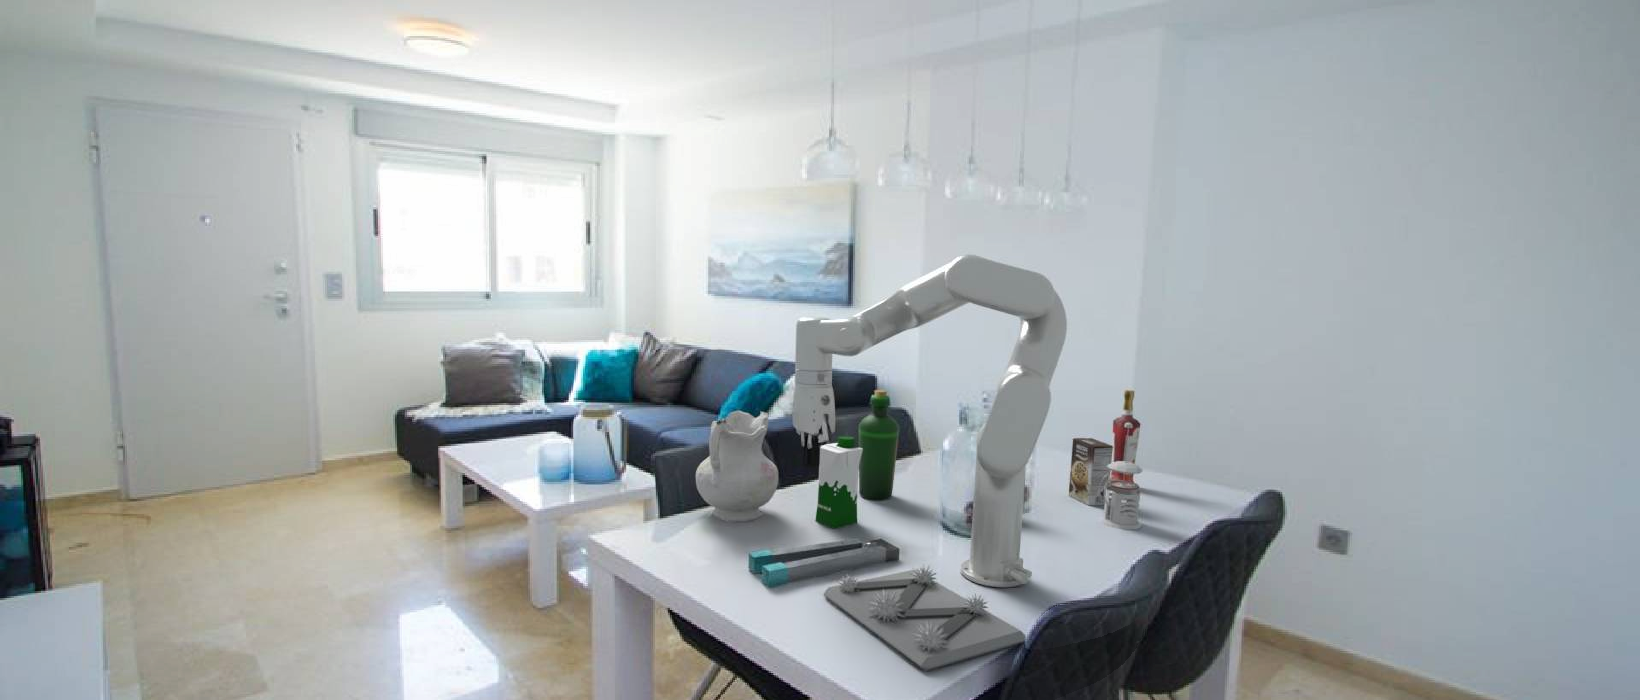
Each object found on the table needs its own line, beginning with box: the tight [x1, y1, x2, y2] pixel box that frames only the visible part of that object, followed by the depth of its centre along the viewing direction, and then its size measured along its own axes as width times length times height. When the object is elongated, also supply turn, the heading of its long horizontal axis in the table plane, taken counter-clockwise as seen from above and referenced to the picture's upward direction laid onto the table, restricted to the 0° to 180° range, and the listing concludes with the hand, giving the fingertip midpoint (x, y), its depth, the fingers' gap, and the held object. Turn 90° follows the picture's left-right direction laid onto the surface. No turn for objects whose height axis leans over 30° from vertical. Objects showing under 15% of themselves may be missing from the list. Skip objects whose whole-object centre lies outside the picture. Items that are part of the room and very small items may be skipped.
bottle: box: [858, 389, 900, 501], centre depth 199 cm, size 11×11×28 cm
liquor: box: [1110, 389, 1141, 483], centre depth 219 cm, size 7×7×28 cm
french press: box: [1099, 423, 1144, 530], centre depth 185 cm, size 10×12×25 cm
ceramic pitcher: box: [695, 410, 779, 523], centre depth 179 cm, size 22×20×25 cm
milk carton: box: [815, 435, 863, 530], centre depth 177 cm, size 9×9×20 cm
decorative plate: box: [823, 562, 1026, 672], centre depth 130 cm, size 30×22×7 cm
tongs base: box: [761, 538, 900, 589], centre depth 151 cm, size 30×7×3 cm, turn 122°
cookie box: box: [1068, 437, 1113, 506], centre depth 204 cm, size 9×6×16 cm
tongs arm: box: [747, 538, 877, 574], centre depth 152 cm, size 27×5×3 cm, turn 116°
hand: (810, 465), depth 157 cm, fingers closed
